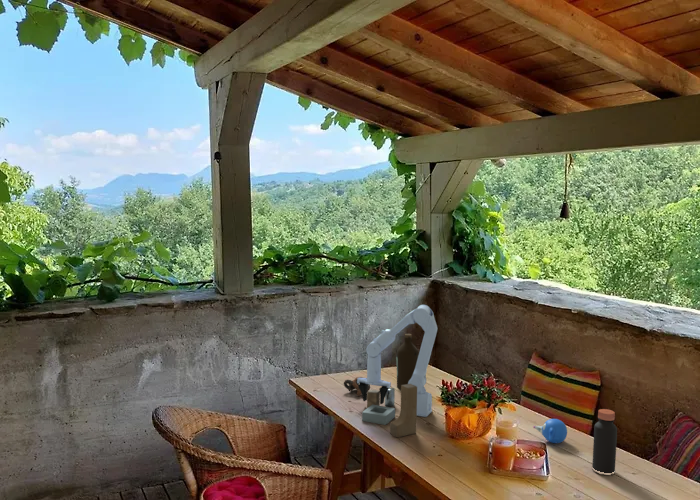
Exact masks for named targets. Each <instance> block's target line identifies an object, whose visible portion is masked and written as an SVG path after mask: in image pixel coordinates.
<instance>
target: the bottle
mask: <svg viewBox="0 0 700 500" xmlns="http://www.w3.org/2000/svg"><path fill="white" fill-rule="evenodd" d="M615 416H616V412H615V411H613V410H611V409H609V408H608V409H607V408H602V409H601V408H600V409H598V413H597V419H598V421H597V422H596V423H595V424H594V427H593V428H594V430H593V445H592V446H593V447H592V462H591V463H592V465H591V468H592V467H593V468H594V469H595V470H597V471H600V472H604V473H612V472H614V471H615V472H616V457H617V443H618V442H617V441H618V440H617V439H618V427H617V426H616V425H615V424H614V422H615V418H616V417H615Z"/></svg>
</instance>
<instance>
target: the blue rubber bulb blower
mask: <svg viewBox="0 0 700 500" xmlns="http://www.w3.org/2000/svg"><path fill="white" fill-rule="evenodd" d="M532 427H533V429H535V430H537V431H538V432H539V433H541V436H543V437H544V438H545V440H547V442H549V443H552V444H561V443H562V442H564V441H565V440H566V438H567V435H568V428H567V426H566V424H565V423H564V422H563V421H562V420H560V419H558V418H549V419H547V420H546V421H545V422H544V424H543V425H533V426H532Z"/></svg>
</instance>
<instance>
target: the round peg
mask: <svg viewBox="0 0 700 500" xmlns="http://www.w3.org/2000/svg"><path fill="white" fill-rule="evenodd" d="M395 390H396V389H395V388H394V387H390V388H389V389H388V391H387V393H386V395H385V398H384V407H390V408H394V407H395V399H396V398H395V397H396V395H395V393H396V391H395Z"/></svg>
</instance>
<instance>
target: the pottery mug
mask: <svg viewBox="0 0 700 500" xmlns="http://www.w3.org/2000/svg"><path fill="white" fill-rule="evenodd" d="M357 378H364V377H363V376H357V377H355V378H354V379H352V380H351V379H345V380H344V381H343V386H344V388H345V389H346V390H348V391H349V392H352V391H353V390H356V391H357V392H356V396H358V397H361V396H362V393H361V391H360V389H359V387H358V385H359V383H357ZM369 390H371V385H370V384H368V388H367V392H368V391H369Z"/></svg>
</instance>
